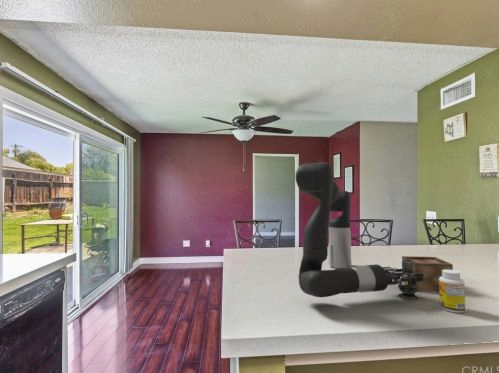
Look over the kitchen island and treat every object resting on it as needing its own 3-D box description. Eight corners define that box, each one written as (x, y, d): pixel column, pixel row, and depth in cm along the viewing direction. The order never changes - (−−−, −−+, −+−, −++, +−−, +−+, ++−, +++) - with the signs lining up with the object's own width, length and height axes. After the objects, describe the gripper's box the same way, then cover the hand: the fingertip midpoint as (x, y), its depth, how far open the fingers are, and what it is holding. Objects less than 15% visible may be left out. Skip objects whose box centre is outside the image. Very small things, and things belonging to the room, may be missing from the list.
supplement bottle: (441, 303, 78) (439, 267, 79) (466, 308, 75) (464, 270, 75) (438, 310, 74) (437, 271, 75) (465, 315, 71) (463, 275, 71)
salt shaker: (423, 300, 81) (421, 259, 82) (401, 299, 82) (399, 258, 83) (415, 293, 87) (413, 255, 87) (394, 292, 88) (393, 254, 88)
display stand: (416, 291, 89) (415, 263, 90) (402, 280, 100) (401, 256, 100) (453, 292, 88) (452, 264, 88) (435, 281, 98) (434, 256, 99)
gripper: (382, 271, 75) (434, 267, 78) (351, 260, 89) (397, 257, 92) (383, 300, 75) (435, 294, 78) (352, 284, 89) (398, 279, 92)
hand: (414, 274), depth 85 cm, fingers open, 5 cm apart
